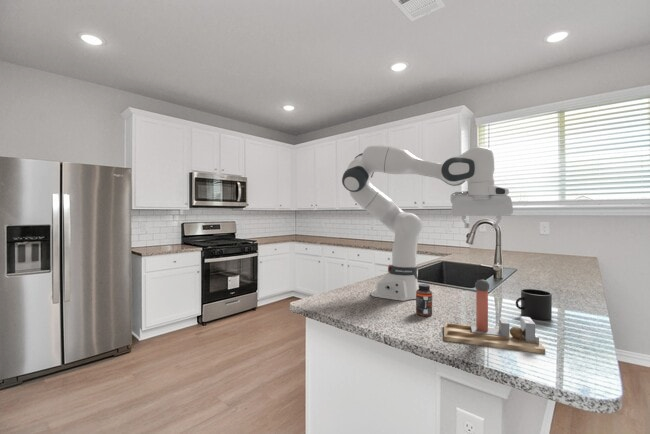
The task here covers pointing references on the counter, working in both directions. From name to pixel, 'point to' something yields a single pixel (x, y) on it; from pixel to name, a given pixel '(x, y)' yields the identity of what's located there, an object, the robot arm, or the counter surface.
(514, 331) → the walnut
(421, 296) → the supplement bottle
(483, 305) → the lever
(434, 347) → the counter surface
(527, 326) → the block
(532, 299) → the mug
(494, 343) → the wooden base board
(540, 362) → the counter surface
